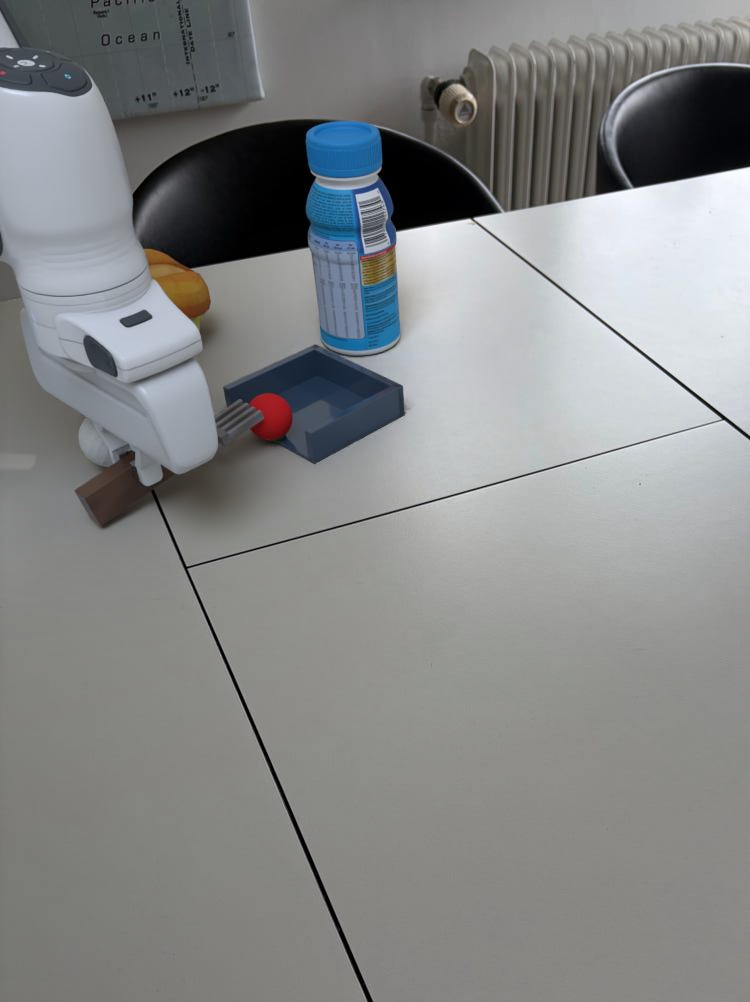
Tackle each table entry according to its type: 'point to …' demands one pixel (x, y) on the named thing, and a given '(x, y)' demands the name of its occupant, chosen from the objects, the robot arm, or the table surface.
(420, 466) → the table surface
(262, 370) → the tray
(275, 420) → the tomato
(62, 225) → the robot arm
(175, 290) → the cheeseburger
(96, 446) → the ice cream cone
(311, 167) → the beverage bottle
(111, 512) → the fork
